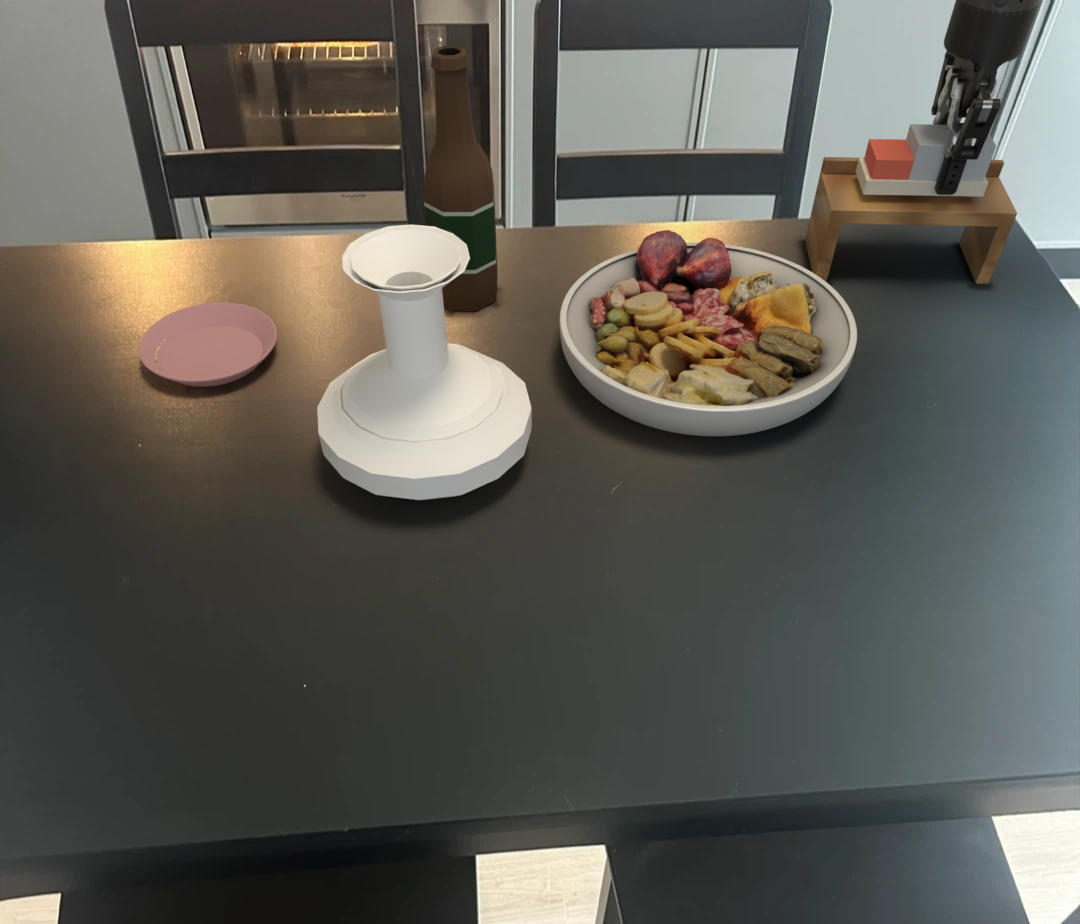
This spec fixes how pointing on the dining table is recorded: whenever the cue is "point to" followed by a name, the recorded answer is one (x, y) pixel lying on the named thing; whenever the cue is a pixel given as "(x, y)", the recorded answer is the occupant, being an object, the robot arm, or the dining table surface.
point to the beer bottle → (461, 184)
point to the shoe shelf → (908, 215)
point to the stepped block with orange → (918, 164)
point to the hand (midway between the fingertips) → (938, 179)
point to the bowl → (706, 336)
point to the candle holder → (420, 381)
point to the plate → (208, 343)
